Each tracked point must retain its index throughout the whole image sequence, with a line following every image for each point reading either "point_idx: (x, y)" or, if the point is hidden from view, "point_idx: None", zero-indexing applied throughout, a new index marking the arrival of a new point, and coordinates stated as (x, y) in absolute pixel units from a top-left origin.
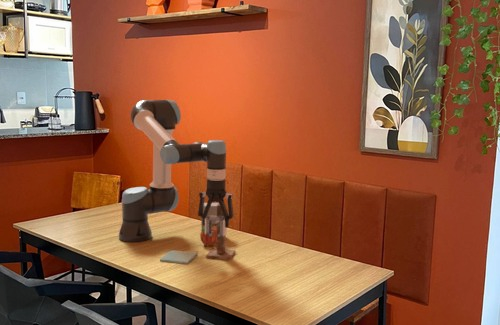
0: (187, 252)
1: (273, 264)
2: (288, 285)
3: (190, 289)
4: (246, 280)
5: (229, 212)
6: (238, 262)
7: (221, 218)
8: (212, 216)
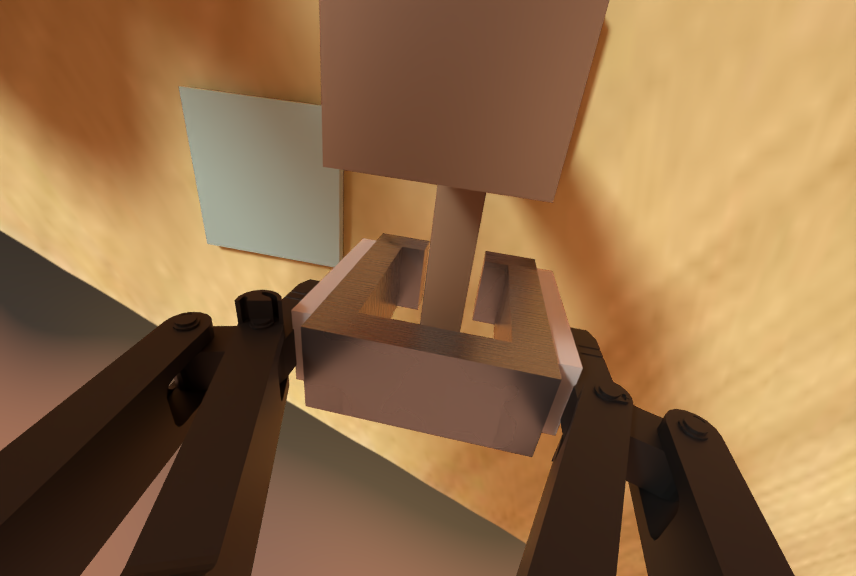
0: (282, 113)
1: (849, 224)
2: (815, 464)
3: (425, 471)
4: None
5: (662, 569)
6: (608, 214)
7: (510, 446)
8: (376, 396)
